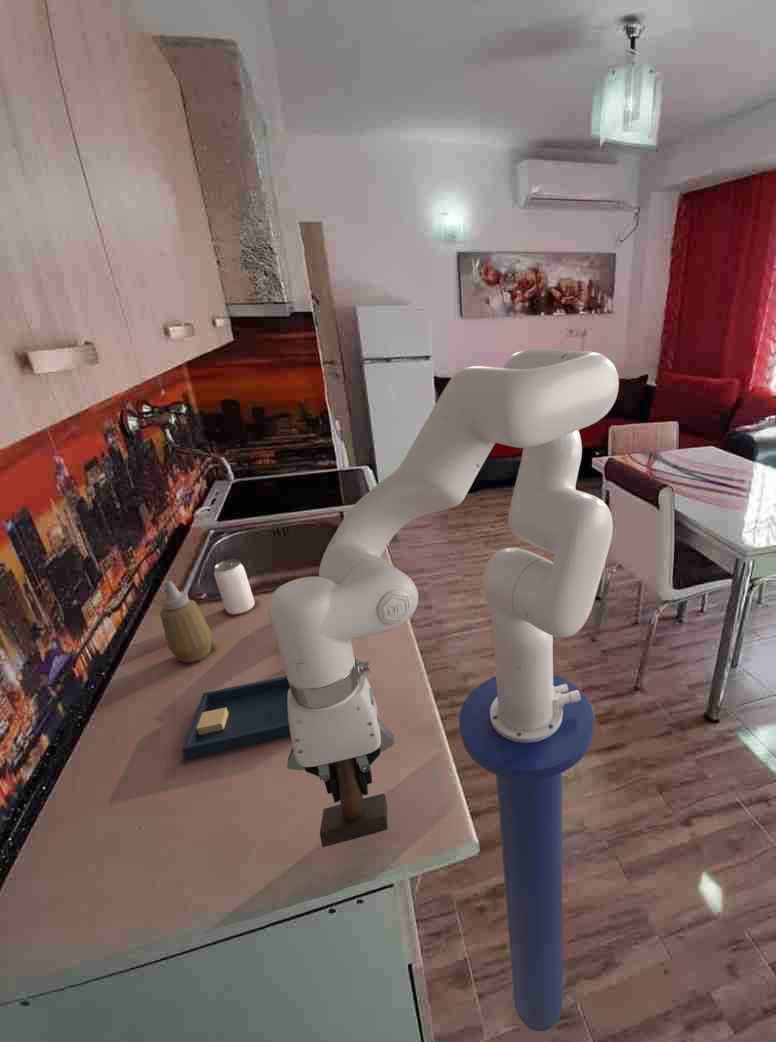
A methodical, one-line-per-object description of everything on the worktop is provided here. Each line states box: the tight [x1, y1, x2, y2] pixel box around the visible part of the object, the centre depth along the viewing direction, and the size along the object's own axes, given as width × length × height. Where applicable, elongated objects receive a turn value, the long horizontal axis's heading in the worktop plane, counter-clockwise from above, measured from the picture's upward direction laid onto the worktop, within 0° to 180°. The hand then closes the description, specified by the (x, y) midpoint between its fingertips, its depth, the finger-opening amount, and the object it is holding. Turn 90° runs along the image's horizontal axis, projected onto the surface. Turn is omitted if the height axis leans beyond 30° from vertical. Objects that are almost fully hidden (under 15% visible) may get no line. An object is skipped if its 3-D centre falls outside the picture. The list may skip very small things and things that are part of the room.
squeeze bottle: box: [159, 579, 213, 663], centre depth 105 cm, size 8×8×18 cm
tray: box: [181, 675, 291, 761], centre depth 90 cm, size 20×14×2 cm
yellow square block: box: [196, 708, 229, 735], centre depth 89 cm, size 4×4×2 cm
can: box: [213, 559, 256, 616], centre depth 122 cm, size 6×6×12 cm
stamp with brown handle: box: [319, 757, 389, 848], centre depth 66 cm, size 8×5×10 cm, turn 105°
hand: (351, 788), depth 67 cm, fingers closed on stamp with brown handle, 2 cm apart
